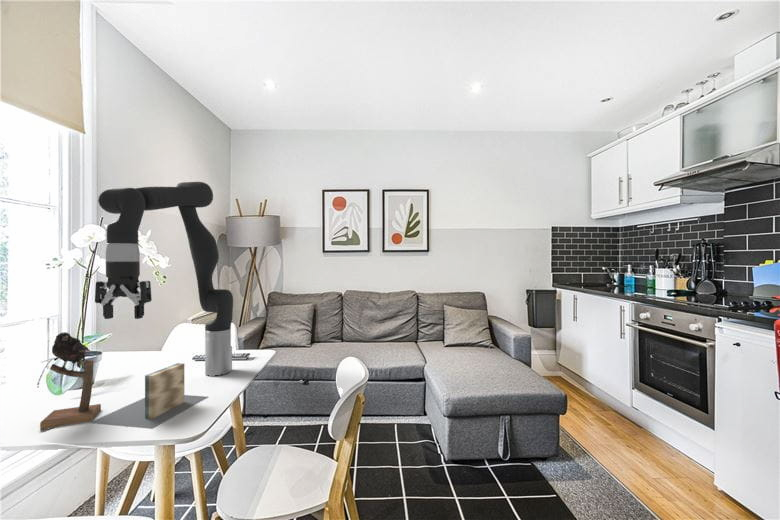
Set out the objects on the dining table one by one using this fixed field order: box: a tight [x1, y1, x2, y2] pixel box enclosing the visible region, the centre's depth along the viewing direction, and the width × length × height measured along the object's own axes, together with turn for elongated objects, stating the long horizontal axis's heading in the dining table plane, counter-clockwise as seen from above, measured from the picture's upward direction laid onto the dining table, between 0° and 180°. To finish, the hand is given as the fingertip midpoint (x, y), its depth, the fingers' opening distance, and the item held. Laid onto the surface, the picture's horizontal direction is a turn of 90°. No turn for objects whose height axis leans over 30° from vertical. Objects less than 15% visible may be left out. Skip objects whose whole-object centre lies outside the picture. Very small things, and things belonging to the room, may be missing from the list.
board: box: [144, 362, 185, 419], centre depth 104 cm, size 12×2×12 cm, turn 170°
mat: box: [89, 394, 209, 429], centre depth 105 cm, size 22×20×1 cm
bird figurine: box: [39, 332, 102, 431], centre depth 101 cm, size 11×14×25 cm
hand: (123, 318), depth 98 cm, fingers open, 8 cm apart
